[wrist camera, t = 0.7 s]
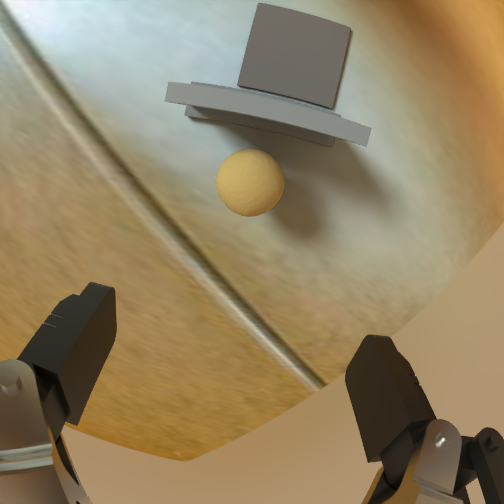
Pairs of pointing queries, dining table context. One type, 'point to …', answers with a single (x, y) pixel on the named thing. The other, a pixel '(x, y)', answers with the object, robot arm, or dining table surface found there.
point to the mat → (294, 55)
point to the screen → (265, 113)
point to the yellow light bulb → (250, 182)
